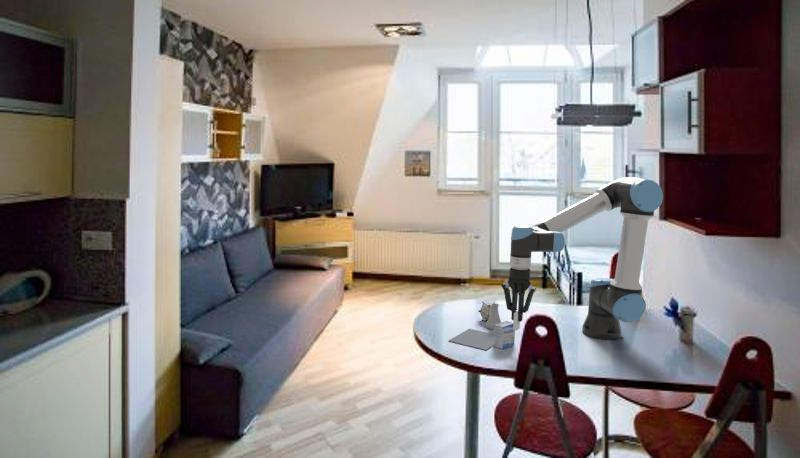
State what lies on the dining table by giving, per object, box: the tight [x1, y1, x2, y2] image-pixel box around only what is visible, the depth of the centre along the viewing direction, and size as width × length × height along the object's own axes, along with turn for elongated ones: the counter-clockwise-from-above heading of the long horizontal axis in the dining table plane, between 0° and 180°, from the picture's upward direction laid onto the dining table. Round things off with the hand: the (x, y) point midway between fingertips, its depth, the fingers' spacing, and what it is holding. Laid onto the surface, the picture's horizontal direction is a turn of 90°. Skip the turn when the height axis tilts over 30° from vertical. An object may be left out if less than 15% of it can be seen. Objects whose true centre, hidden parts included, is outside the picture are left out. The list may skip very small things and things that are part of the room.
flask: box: [485, 302, 502, 330], centre depth 228 cm, size 7×7×10 cm
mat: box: [448, 328, 494, 351], centre depth 213 cm, size 16×18×1 cm
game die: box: [477, 301, 496, 322], centre depth 237 cm, size 9×8×10 cm
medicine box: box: [492, 320, 516, 350], centre depth 207 cm, size 8×4×9 cm, turn 132°
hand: (516, 329), depth 203 cm, fingers closed
